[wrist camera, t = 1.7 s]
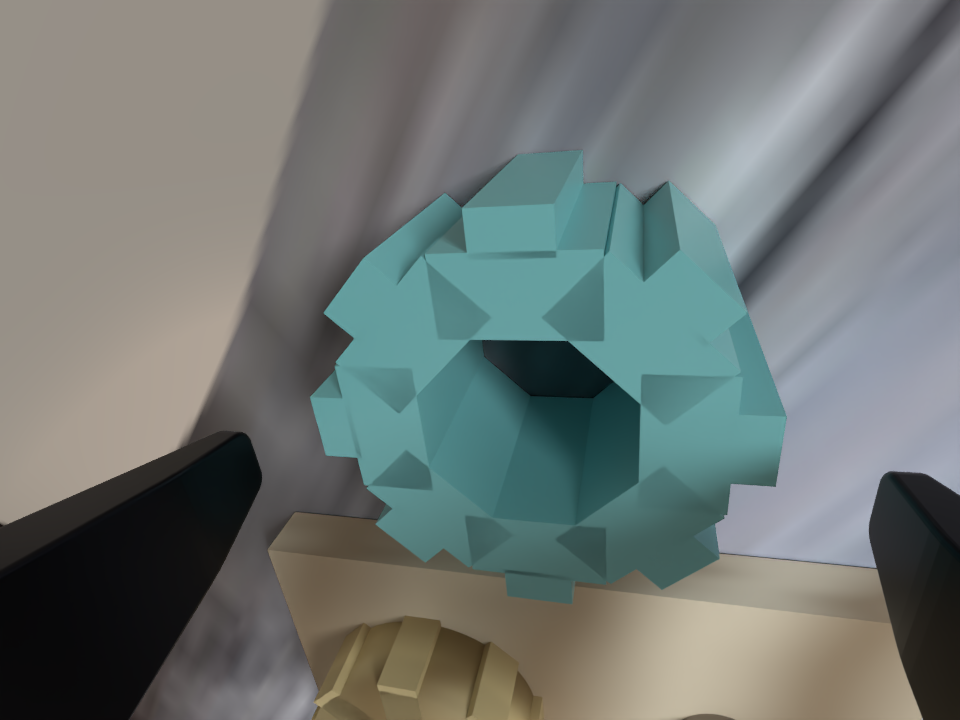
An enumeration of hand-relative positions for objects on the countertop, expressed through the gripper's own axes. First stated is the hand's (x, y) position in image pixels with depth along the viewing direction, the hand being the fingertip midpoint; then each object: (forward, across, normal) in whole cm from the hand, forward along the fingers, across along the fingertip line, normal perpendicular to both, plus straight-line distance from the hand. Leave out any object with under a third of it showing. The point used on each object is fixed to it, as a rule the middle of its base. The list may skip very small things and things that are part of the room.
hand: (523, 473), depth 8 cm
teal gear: (+5, 0, 0) cm, 5 cm away
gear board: (+5, 0, +11) cm, 12 cm away
